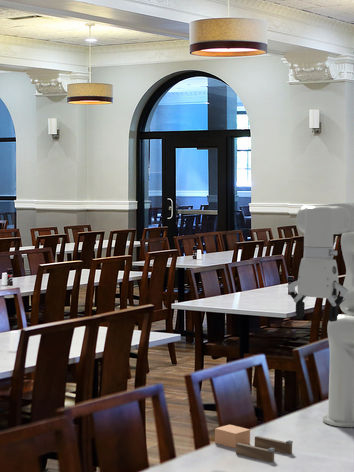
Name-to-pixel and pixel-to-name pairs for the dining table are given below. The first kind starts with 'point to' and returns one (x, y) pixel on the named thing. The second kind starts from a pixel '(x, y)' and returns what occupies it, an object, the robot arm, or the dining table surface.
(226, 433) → the light orange block
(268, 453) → the brown wooden rail pair
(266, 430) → the dining table surface
